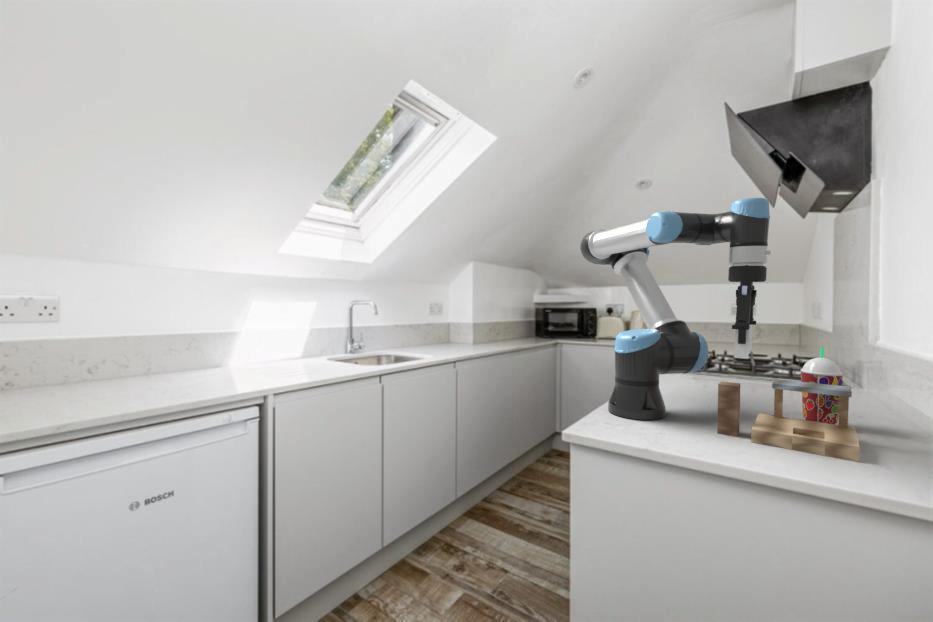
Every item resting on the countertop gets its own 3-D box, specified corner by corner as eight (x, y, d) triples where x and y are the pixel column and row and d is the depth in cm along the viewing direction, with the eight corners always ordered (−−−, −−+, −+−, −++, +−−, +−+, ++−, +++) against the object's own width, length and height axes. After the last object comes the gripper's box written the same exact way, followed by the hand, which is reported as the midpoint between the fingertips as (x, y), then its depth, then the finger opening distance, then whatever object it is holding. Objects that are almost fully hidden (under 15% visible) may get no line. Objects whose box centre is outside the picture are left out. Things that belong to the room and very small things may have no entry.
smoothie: (843, 432, 102) (845, 349, 101) (799, 425, 107) (801, 347, 106) (839, 423, 109) (842, 346, 108) (798, 417, 114) (800, 344, 113)
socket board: (751, 441, 96) (752, 388, 95) (758, 424, 108) (759, 377, 108) (859, 461, 84) (861, 401, 84) (854, 440, 96) (855, 387, 96)
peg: (717, 433, 102) (718, 384, 101) (720, 429, 105) (721, 381, 104) (736, 436, 99) (737, 386, 99) (739, 432, 102) (740, 383, 102)
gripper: (765, 262, 88) (760, 363, 89) (768, 266, 108) (764, 349, 109) (723, 263, 92) (719, 359, 94) (733, 267, 112) (730, 346, 114)
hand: (743, 354), depth 102 cm, fingers open, 13 cm apart
